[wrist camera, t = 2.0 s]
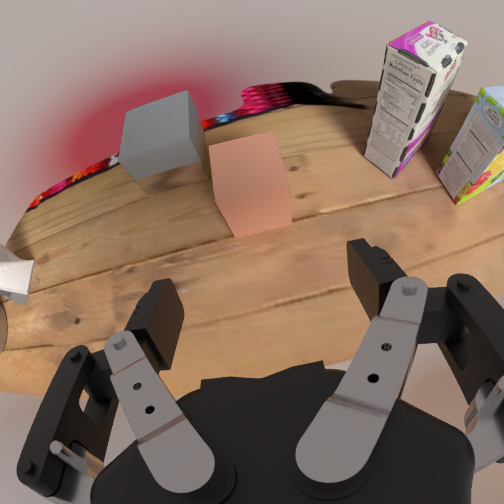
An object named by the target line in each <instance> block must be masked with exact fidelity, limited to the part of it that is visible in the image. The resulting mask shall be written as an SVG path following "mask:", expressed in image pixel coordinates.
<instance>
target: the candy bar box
mask: <svg viewBox="0 0 504 504" xmlns="http://www.w3.org/2000/svg"><path fill="white" fill-rule="evenodd" d="M466 45H467V42H466V41H465V40H463V39H462V38H460V37H458V36H457V35H455V34H453V33H452V32H450V31H449V30H447V29H445V28H442V27H441V26H440V25H438V24H436V23H434V22H431V21H428V22H426V23H424V24H422V25H421V26H419V27H417V28H415V29H413V30H411V31H409V32H407V33H405V34H403V35H402V36H400V37H398V38H396V39H394V40H393V41H391V42H389V43H387V46H386V52H385V58H384V64H383V70H382V75H381V80H380V85H379V90H378V95H377V101H376V106H375V110H374V114H373V118H372V123H371V127H370V131H369V135H368V139H367V143H366V147H365V151H364V155H363V156H364V157H365V158H366V159H367V160H368V161H369V162H371V163H372V164H374V165H375V166H377V167H378V168H379V169H380V170H382V171H383V172H384V173H385V174H386V175H388V176H389V177H390V178H392V179H394V178H395V177H396V176H397V175H398V174H399V172H400V171H401V170H402V169H403V168H404V166H405V165H406V164H407V163H408V161H409V160H410V159H411V158H412V157H413V155H414V154H415V153H416V152H417V151H418V149H419V148H420V147H421V146H422V144H423V143H424V142H425V141H426V139H427V138H428V137H429V136H430V134H431V131H432V129H433V127H434V125H435V123H436V121H437V119H438V116H439V114H440V112H441V109H442V107H443V105H444V103H445V100H446V98H447V96H448V93H449V91H450V88H451V86H452V83H453V81H454V78H455V76H456V73H457V70H458V68H459V65H460V63H461V59H462V57H463V54H464V51H465V48H466Z"/></svg>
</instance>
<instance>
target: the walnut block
mask: <svg viewBox="0 0 504 504" xmlns="http://www.w3.org/2000/svg"><path fill="white" fill-rule="evenodd" d="M198 123H199V138H200V151H201V161H199V162H195V163H192V164H188V165H184V166H181V167H177V168H174V169H171V170H167V171H164V172H161V173H157V174H154V175H151V176H148V177H145V178H142V179H139V180H135V179H134V181H135V182H136V183H137V184H138V185H139V186H140V188H141V189H142V190H143V191H144V192H145V193H146V194H147V195H148V196H149V195H152V194H155V193H159V192H162V191H166V190H169V189H173V188H176V187H180V186H184V185H187V184H191V183H195V182H199V181H203V180H206V179H209V176H208V166H207V156H206V146H205V135H204V130H203V128H202V126H201V123H200V121H199V119H198Z"/></svg>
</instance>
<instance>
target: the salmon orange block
mask: <svg viewBox="0 0 504 504" xmlns="http://www.w3.org/2000/svg"><path fill="white" fill-rule="evenodd" d="M209 155H210V164H211V172H212V181H213V189H214V197H215V202H216V204H217V206H218V208H219V210H220V211H221V213H222V215H223V217H224V218H225V220H226V222H227V224H228V225H229V227H230V229H231V231H232V233H233V234H234V236H235V237H239V236H244V235H248V234H253V233H258V232H262V231H267V230H272V229H276V228H281V227H286V226H291V225H292V220H291V202H290V186H289V182H288V178H287V175H286V171H285V168H284V164H283V161H282V157H281V154H280V150H279V147H278V144H277V140H276V137H275V134H274V131H271V132H266V133H261V134H256V135H252V136H247V137H243V138H238V139H234V140H230V141H226V142H222V143H218V144H214V145H210V146H209Z"/></svg>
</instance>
